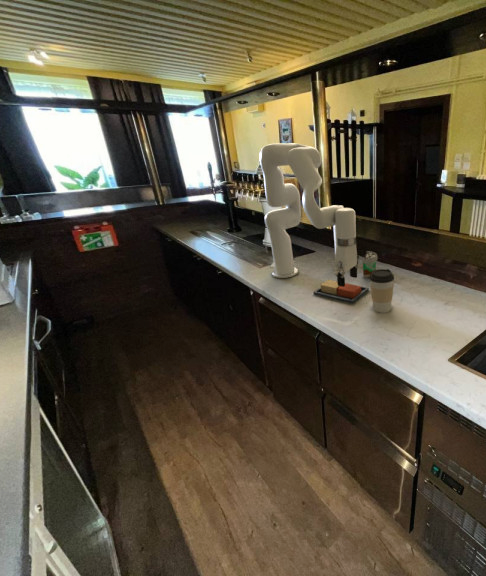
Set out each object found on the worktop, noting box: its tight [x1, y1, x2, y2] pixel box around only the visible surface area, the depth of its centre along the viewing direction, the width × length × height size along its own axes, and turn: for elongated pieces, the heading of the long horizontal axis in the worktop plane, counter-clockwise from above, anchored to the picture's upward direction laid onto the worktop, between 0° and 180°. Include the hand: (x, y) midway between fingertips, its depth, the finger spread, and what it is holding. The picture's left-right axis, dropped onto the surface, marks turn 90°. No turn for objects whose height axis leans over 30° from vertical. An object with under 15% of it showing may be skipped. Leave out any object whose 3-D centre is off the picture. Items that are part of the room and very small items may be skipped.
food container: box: [362, 250, 379, 278], centre depth 144 cm, size 12×6×10 cm, turn 168°
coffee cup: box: [369, 268, 395, 313], centre depth 112 cm, size 9×9×15 cm
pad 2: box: [337, 282, 361, 299], centre depth 125 cm, size 8×6×3 cm
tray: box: [313, 279, 370, 305], centre depth 128 cm, size 19×14×2 cm
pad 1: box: [320, 279, 340, 295], centre depth 130 cm, size 8×6×3 cm
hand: (347, 281), depth 124 cm, fingers open, 9 cm apart
